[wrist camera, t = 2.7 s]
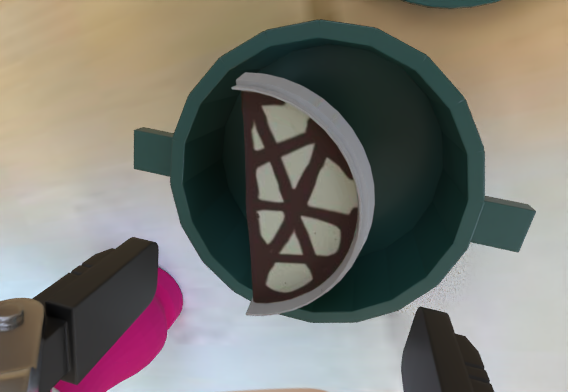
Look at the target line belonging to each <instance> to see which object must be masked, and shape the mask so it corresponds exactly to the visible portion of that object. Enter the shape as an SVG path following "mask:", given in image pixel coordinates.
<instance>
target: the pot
mask: <svg viewBox="0 0 568 392" xmlns="http://www.w3.org/2000/svg"><path fill="white" fill-rule="evenodd" d="M245 72H248V73H262V74H268V75H272V76H276V77H280V78H285V79H287V80H289V81H292V82H294V83H297V84H299V85H301V86H304V87H305V88H307V89H309V90H310V91H312V92H314V93H315V94H317V95H318V96H320V97H322V98H323V99H324V100H325V101H326V102H328V103H329V104H330V105H331V106H332V107H333V108H334V109H336V110H337V111H338V112H339V113H340V114H341V116H342V117H343V118H344V119H345V120H346V122H347V123H348V124H349V125H350V126H351V128H352V129H353V131H354V132H355V134H356V136H357V137H358V139H359V141H360V143H361V144H362V146H363V148H364V151H365V153H366V156H367V159H368V161H369V164H370V167H371V172H372V177H373V182H374V195H375V206H374V213H373V220H372V224H371V228H370V231H369V234H368V237H367V240H366V242H365V243H364V245H363V247H362V249H361V251H360V253H359V254H358V256H357V258H356V260H355V262H354V263H353V265H352V267H351V268H350V269H349V271H348V272H347V273H346V274H345V276H344V277H343V278H342V279H341V281H339V282H338V283H337V284H336V285H335V286H334V287H333V288H331V289H330V290H329V291H328V292H326V293H325V294H323V295H322V296H321V297H319V298H317V299H316V300H314V301H313V302H311V303H309V304H307V305H305V306H303V307H300V308H298V309H296V310H293V311H289V312H285V313H281V314H280V315H284V316H287V317H291V318H295V319H299V320H303V321H307V322H312V323H353V322H360V321H363V320H367V319H370V318H374V317H377V316H381V315H384V314H388V313H391V312H395V311H398V310H400V309H401V308H403V307H405V306H406V305H408V304H409V303H411V302H412V301H414V300H415V299H417V298H419V297H420V296H422V295H423V294H425V293H426V292H428V291H430V290H431V289H433V288H434V287H436V286H437V285H438V284H439V283H440V282H441V281H442V279H443V278H444V277H445V276H446V274H447V273H448V272H449V271H450V270H451V268H452V267H453V266H454V265H455V264H456V262H457V261H458V260H459V259H460V257H461V256H462V255H463V254H464V253H465V251H466V250H467V248H468V247H469V244H470V242H473V243H477V244H482V245H486V246H491V247H496V248H500V249H505V250H509V251H514V252H519V250H520V248H521V246H522V243H523V241H524V239H525V236H526V234H527V232H528V229H529V227H530V225H531V222H532V220H533V218H534V215H535V213H536V211H535V210H534V209H533V208H532V207H531V206H529V205H528V204H523V203H518V202H513V201H508V200H503V199H498V198H494V197H489V196H485V151H484V146H483V144H482V141H481V139H480V136H479V133H478V131H477V128H476V125H475V123H474V120H473V117H472V115H471V112H470V109H469V107H468V104H467V102H466V100H465V98H464V96H463V95H462V94H461V93H460V92H459V91H458V89H457V88H456V87H455V86H454V85H453V84H452V83H451V82H450V80H449V79H448V78H447V77H446V76H445V75H444V74H443V72H442V71H441V70H440V69H439V68H438V67H437V66H436V65H435V63H434V62H433V61H432V60H431V59H430V58H429V57H428V56H427V55H426V54H424V53H422V52H420V51H418V50H417V49H415V48H413V47H411V46H409V45H407V44H405V43H404V42H402V41H400V40H398V39H396V38H394V37H392V36H391V35H389V34H387V33H385V32H383V31H381V30H379V29H378V28H375V27H368V26H361V25H355V24H348V23H341V22H334V21H328V20H321V19H320V20H313V21H308V22H303V23H298V24H293V25H288V26H283V27H278V28H273V29H268V30H265V31H263V32H261V33H259V34H258V35H256V36H254V37H253V38H251V39H249V40H248V41H246V42H244V43H243V44H241V45H239V46H238V47H236V48H234V49H233V50H231V51H229V52H228V53H226V54H224V55H223V56H221V58H219V59H218V60H217V61H216V62H215V64H214V65H213V66H212V67H211V68H210V70H209V71H208V72H207V73H206V74H205V76H204V77H203V78H202V79H201V80H200V82H199V83H198V84H197V85H196V86H195V88H194V89H193V90H192V91H191V93H190V94H189V96H188V98H187V100H186V103H185V106H184V108H183V111H182V114H181V116H180V119H179V121H178V124H177V127H176V129H175V132H174V133H170V132H165V131H160V130H155V129H150V128H145V127H142V128H139V129H136V130H134V169H137V170H142V171H147V172H151V173H156V174H160V175H165V176H170V183H171V184H170V185H171V189H172V193H173V197H174V200H175V204H176V208H177V212H178V216H179V220H180V223H181V226H182V228H183V229H184V231H185V233H186V234H187V236H188V238H189V240H190V241H191V243H192V245H193V246H194V248H195V250H196V251H197V253H198V255H199V256H200V258H201V260H202V261H203V263H204V264H206V265H207V266H208V267H209V268H210V269H211V270H212V271H213V272H214V273H215V274H216V275H217V276H218V277H219V278H220V279H221V280H222V281H223V282H224V283H225V284H226V285H227V286H228V287H229V288H230V289H231V290H234V292H235V293H237V294H239V295H241V296H243V297H244V298H246V299H248V300H250V301H251V300H252V298H253V290H252V273H251V255H250V243H249V232H248V224H247V214H246V171H245V143H244V124H243V114H242V110H241V105H242V99H241V90H234V89H232V87H233V86H236V79H238V78H239V77H240V76H241V75H243V74H244V73H245Z"/></svg>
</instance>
